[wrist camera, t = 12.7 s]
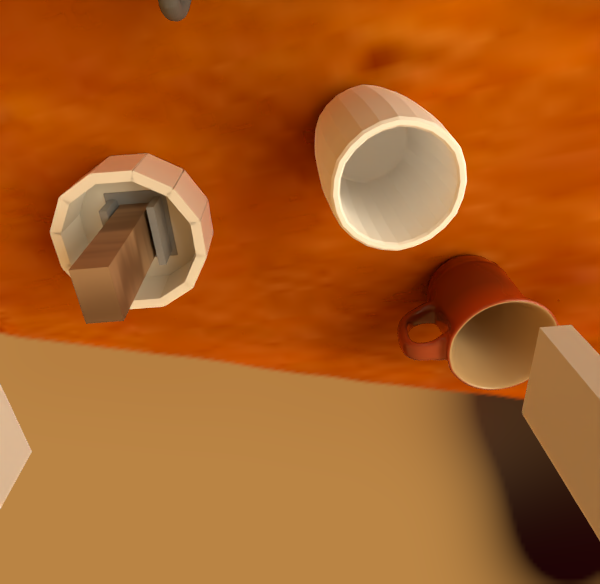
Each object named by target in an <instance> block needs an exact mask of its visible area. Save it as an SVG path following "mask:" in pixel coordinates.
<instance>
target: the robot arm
mask: <svg viewBox="0 0 600 584" xmlns="http://www.w3.org/2000/svg"><path fill="white" fill-rule="evenodd" d="M522 414H523V416H524V417H525V419H526V421H527V422H528V424H529V426H530V427H531V429H532V431H533V432H534V434H535V435H536V437H537V439H538V440H539V442H540V444H541V445H542V447H543V449H544V450H545V452H546V453H547V455H548V457H549V458H550V460H551V462H552V463H553V465H554V466H555V468H556V470H557V471H558V473H559V475H560V476H561V478H562V480H563V481H564V483H565V485H566V486H567V488H568V489H569V491H570V493H571V494H572V496H573V498H574V499H575V501H576V502H577V504H578V506H579V507H580V509H581V511H582V512H583V514H584V516H585V517H586V518H587V520H588V522H589V524H590V525H591V527H592V528H593V530H594V532H595V534H596V535H597V537H598V538H599V540H600V355H599V354H598V353H597V352H596V351H595V350H594V349H593V347H592V346H591V345H590V344H589V343H588V342H587V341H586V340H585V339H584V338H583V337H582V336H581V335H580V334H579V333H578V332H577V330H576V329H575V328H574V327H573V326H572V325H564V326H551V327H540V328H539V333H538V338H537V343H536V347H535V352H534V357H533V362H532V366H531V371H530V376H529V381H528V386H527V390H526V395H525V400H524V405H523V409H522ZM31 452H32V451H31V449H30V447H29V444H28V442H27V440H26V438H25V436H24V434H23V431H22V429H21V427H20V425H19V423H18V421H17V419H16V417H15V414H14V412H13V410H12V408H11V406H10V404H9V401H8V399H7V397H6V395H5V393H4V391H3V389H2V386H1V384H0V508H1V507H2V505H3V503H4V501H5V499H6V497H7V496H8V494H9V492H10V490H11V488H12V486H13V485H14V483H15V481H16V479H17V478H18V475H19V474H20V472H21V470H22V468H23V467H24V465H25V463H26V461H27V459H28V458H29V456H30V454H31Z"/></svg>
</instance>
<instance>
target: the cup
mask: <svg viewBox="0 0 600 584" xmlns="http://www.w3.org/2000/svg"><path fill="white" fill-rule="evenodd" d="M315 158H316V164H317V168H318V173H319V178H320V182H321V186H322V189H323V192H324V194H325V197H326V199H327V201H328V203H329V206H330V208H331V210H332V212H333V214H334V216H335V218H336V219H337V221H338V223H339V225H340V226H341V227H342V228H343V229H344V230H345V231H346V232H347V233H348V234H349V235H350V236H351V237H352V238H354V239H356V240H357V241H359V242H361V243H362V244H364V245H366V246H369V247H373V248H377V249H381V250H394V251H399V250H403V249H407V248H410V247H414V246H417V245H419V244H421V243H423V242H425V241H427V240H429V239H431V238H432V237H434V236H435V235H436V234H437V233H439V232H440V231H441V230H442V229H444V228H445V227H446V225H447V224H448V223H449V222H450V221H451V220H452V219H453V217H454V216H455V215H456V213H457V211H458V209H459V207H460V204H461V202H462V200H463V197H464V192H465V187H466V183H467V175H466V163H465V159H464V156H463V153H462V150H461V147H460V145H459V144H458V143H457V142H456V141H455V139H454V138H453V137H452V136H451V135H450V133H449V132H448V131H447V130H446V129H445V127H444V126H443V125H442V124H441V123H440V122H439V121H438V120H437V119H436V118H435V117H434V116H433V115H432V114H430V113H429V112H428V111H426V110H425V109H424V108H422V107H421V106H419V105H418V104H417V103H415V102H414V101H412V100H410V99H409V98H407V97H405V96H403V95H401V94H399V93H396V92H394V91H391V90H388V89H385V88H382V87H379V86H374V85H359V86H356V87H352V88H349V89H347V90H345V91H344V92H342V93H340V94H338V95H337V96H336V97H334V98H333V99H332V100H331V101H330V102H329V103H328V104H327V105H326V107H325V108H324V110H323V111H322V113H321V114H320V116H319V118H318V122H317V126H316V129H315Z"/></svg>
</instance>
